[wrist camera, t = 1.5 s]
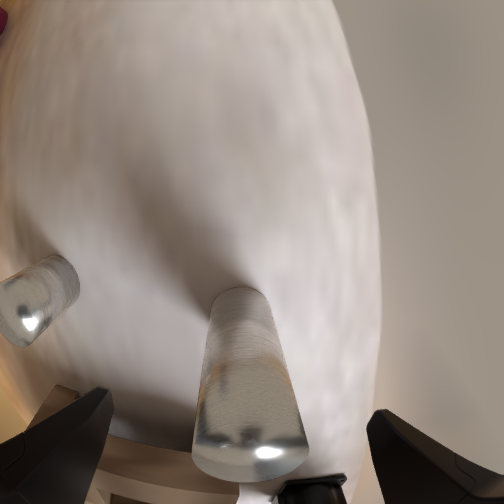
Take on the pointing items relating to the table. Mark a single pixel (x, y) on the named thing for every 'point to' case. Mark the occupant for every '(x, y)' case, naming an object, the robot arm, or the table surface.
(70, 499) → the robot arm
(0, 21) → the cup
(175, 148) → the table surface
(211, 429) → the long pin
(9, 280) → the short pin
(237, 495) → the board
